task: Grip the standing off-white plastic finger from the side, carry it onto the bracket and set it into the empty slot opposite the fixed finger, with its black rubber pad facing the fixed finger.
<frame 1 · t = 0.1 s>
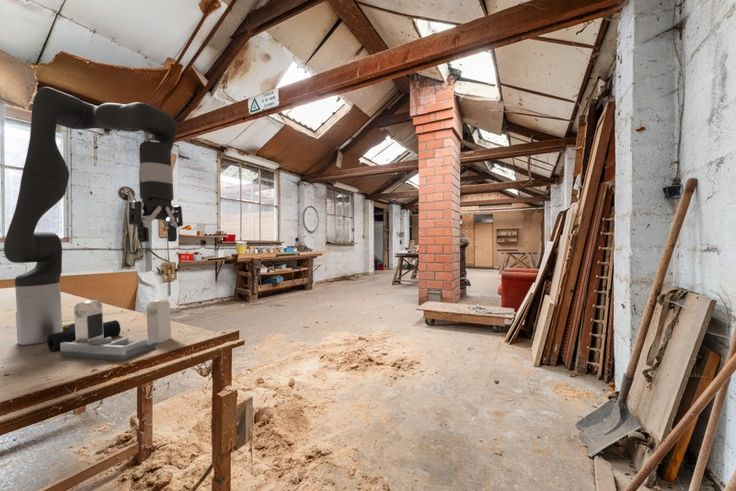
hand: (158, 241, 82), 29 cm above the table, tool pointing down, fingers open, 8 cm apart
bracket: (109, 352, 80), on the table
pipe connector: (81, 342, 90), on the table
finger: (159, 340, 89), on the table
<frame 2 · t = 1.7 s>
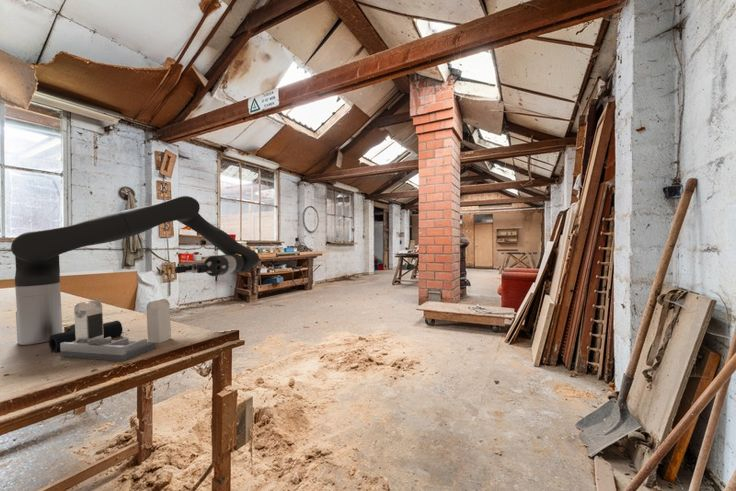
hand: (187, 269, 99), 20 cm above the table, tool horizontal, fingers open, 8 cm apart
pipe connector: (82, 343, 90), on the table
everything else where it was.
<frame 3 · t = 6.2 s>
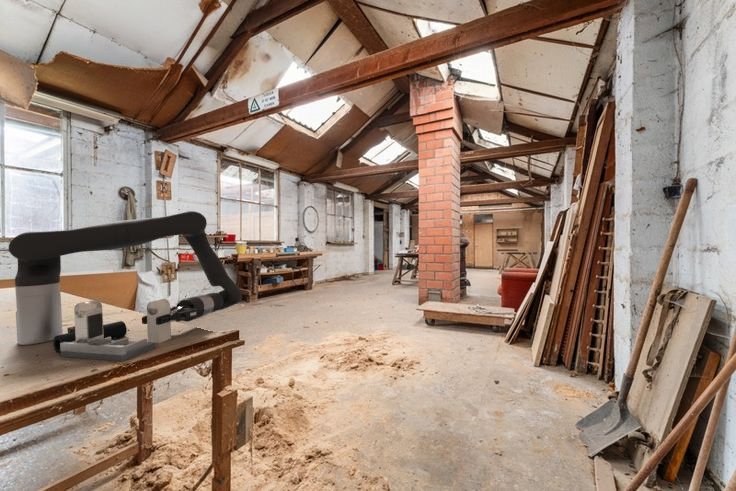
hand: (150, 321, 86), 7 cm above the table, tool horizontal, fingers closed on finger, 4 cm apart
pipe connector: (86, 344, 89), on the table
finger: (159, 340, 89), on the table, touching gripper
when the fingers open (10 cm above the table, at t = 10.8 s): finger drops 2 cm, resting on bracket.
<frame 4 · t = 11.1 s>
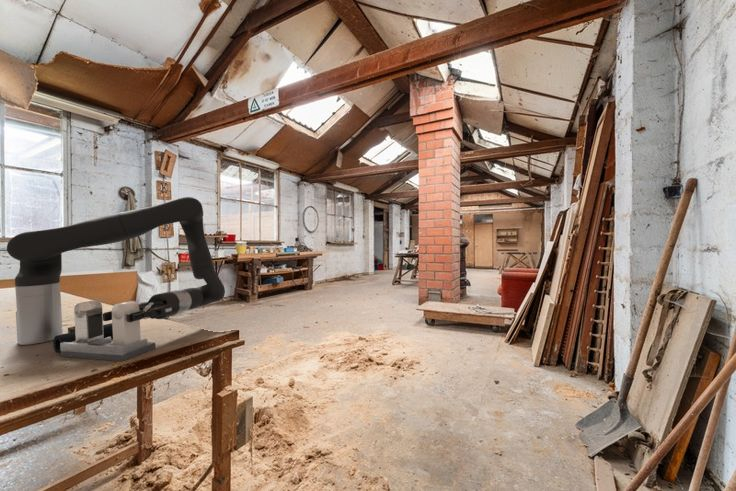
hand: (115, 317, 77), 10 cm above the table, tool horizontal, fingers open, 7 cm apart
finger: (127, 347, 79), point 2 cm above the table, touching bracket
everything else where it was.
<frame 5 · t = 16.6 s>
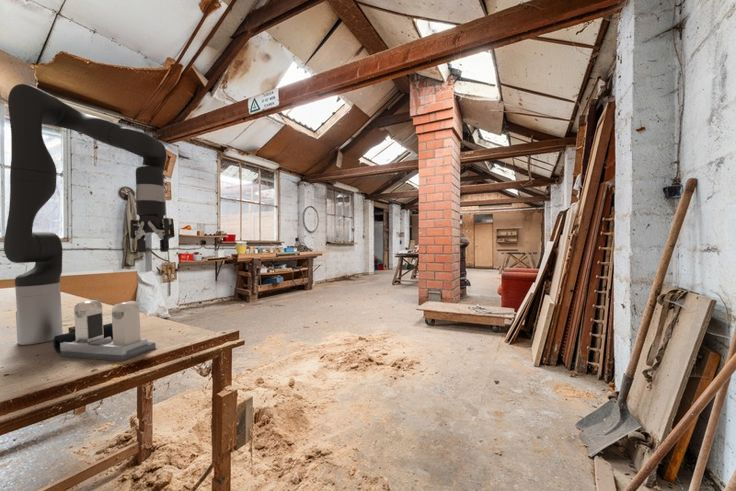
hand: (153, 252, 95), 26 cm above the table, tool pointing down, fingers open, 8 cm apart
nothing on the table moved.
at the end: finger 0.4 cm from the target spot on the bracket, point 1.5 cm above the bracket's base; finger tilted 0°; the gripper is holding nothing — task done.
